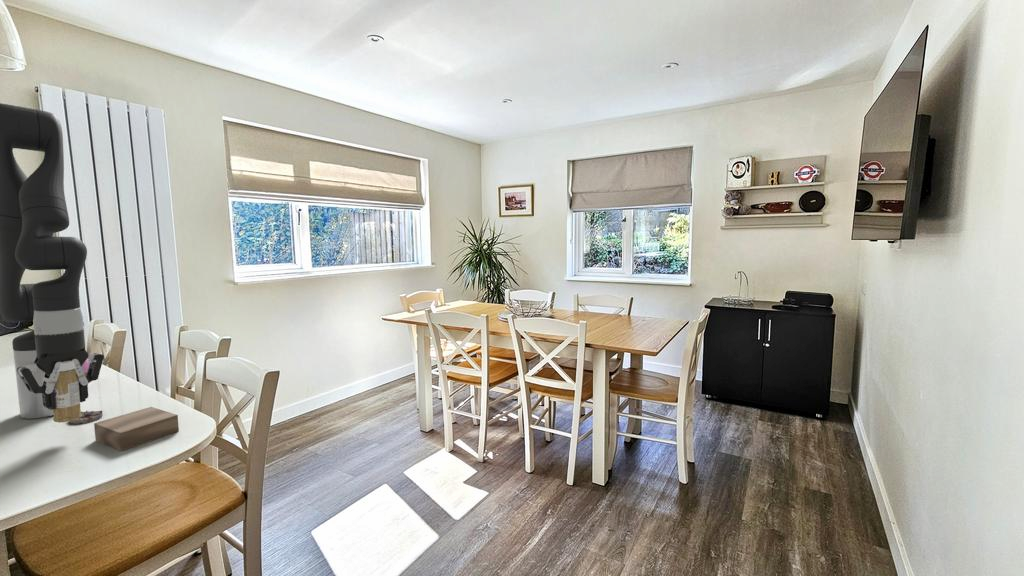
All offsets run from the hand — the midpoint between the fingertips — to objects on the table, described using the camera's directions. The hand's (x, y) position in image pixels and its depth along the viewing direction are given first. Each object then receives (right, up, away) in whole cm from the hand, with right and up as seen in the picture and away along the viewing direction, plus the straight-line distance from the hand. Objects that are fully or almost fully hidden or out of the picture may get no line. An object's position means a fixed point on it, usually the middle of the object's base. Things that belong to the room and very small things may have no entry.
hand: (66, 404), depth 98 cm
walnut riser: (+13, -8, +4) cm, 16 cm away
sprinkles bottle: (0, -4, 0) cm, 4 cm away
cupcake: (-32, -4, +34) cm, 47 cm away
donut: (-8, -8, +12) cm, 16 cm away
